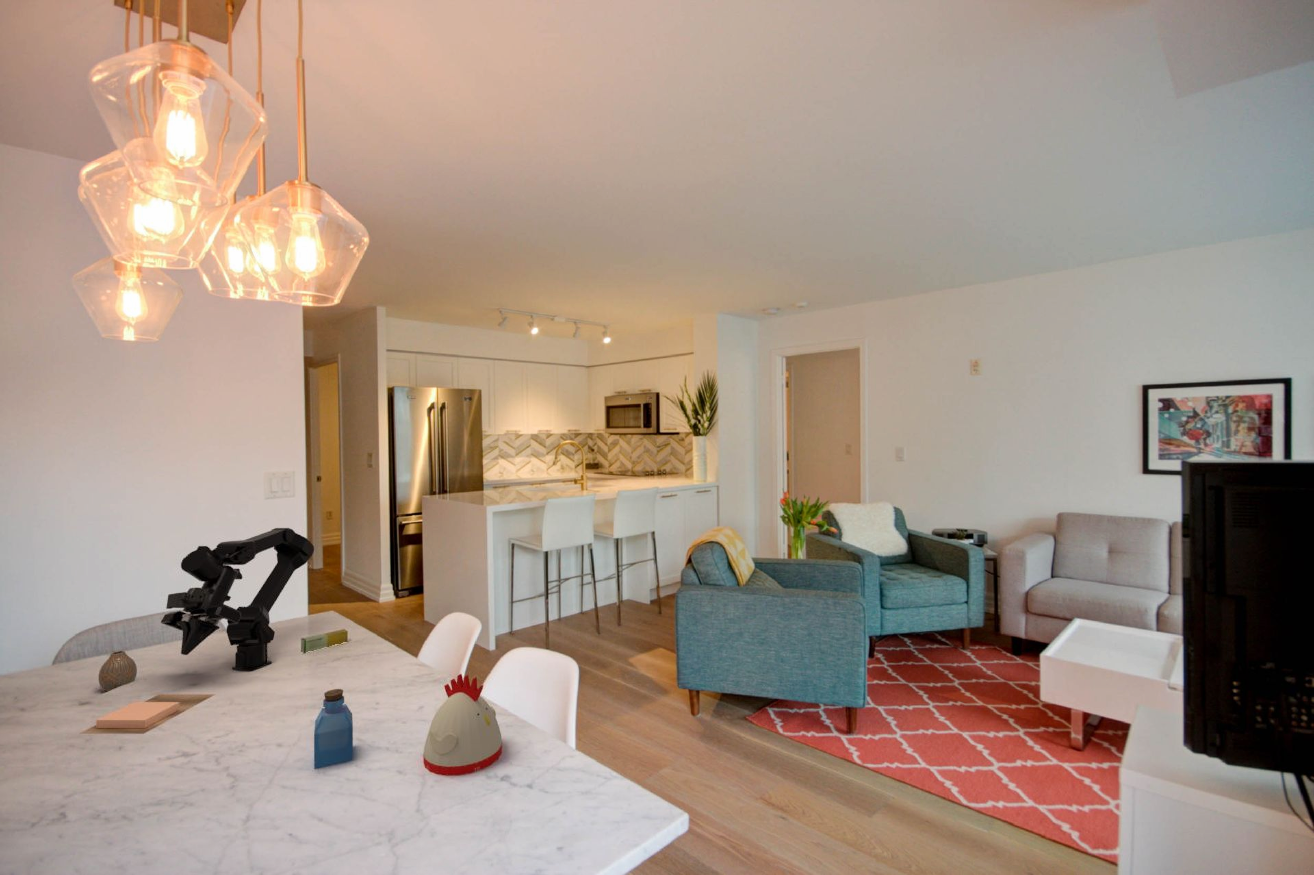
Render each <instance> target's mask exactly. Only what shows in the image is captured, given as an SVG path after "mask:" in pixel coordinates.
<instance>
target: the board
mask: <svg viewBox="0 0 1314 875" xmlns="http://www.w3.org/2000/svg"><path fill="white" fill-rule="evenodd" d="M215 695H216V694H214V693H213V694H211V693H210V694H209V693H208V694H207V693H206V694H205V693H202V694H201V693H200V694H199V693H197V694H196V693H194V694H193V693H192V694H190V693H185V694H183V693H181V694H180V693H177V694H175V693H173V694H172V693H170V694H169V693H167V694H165V693H161V694H160V693H159V694H157V695H154V696H153V697H151V698H149V699H146V700H144V702H179V710H178V711H176V712H174V713H172V714H171V715H169V716H167V717H165V718H163V719H161V720H159V721H158V722H156V723H154V724H152V725H150V726H148V727H146V728H96V724H95V725H93V726H91V727H89V728H88V729H86V730H83V731H81V732H80V734H105V735H106V734H107V735H108V734H112V735H113V734H116V735H117V734H119V735H121V734H122V735H123V734H124V735H125V734H131V735H132V734H133V735H134V734H135V735H136V734H138V735H140V734H141V735H142V734H147V733H148V732H149V731H151V730H153V729H155V728H157V727H159V726H160V725H162V724H165V723H166V722H168V721H169V720H172V719H173V718H175V717H178V716H179V715H181V714H183V713H184V712H186V711H188V710H189V709H191V708H194V707H195V706H197V705H199V704H201V703H202V702H204V701H206V700H207V699H210V698H212V697H213V696H215Z"/></svg>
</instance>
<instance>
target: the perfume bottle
mask: <svg viewBox="0 0 1314 875" xmlns="http://www.w3.org/2000/svg"><path fill="white" fill-rule="evenodd" d="M343 693H344V690H343V689H341V688H334V689H330V690H327V691H326V692H324V693H323V697H324V699H323V702H322V706H323V708H321V709H320V711H319V713H318V715H317V717H316V719H315V723H314V730H313V731H314V732H313V733H314V734H313V745H314V746H313V756H314V758H313V760H314V761H313V769H314V770H317V769H321V768H326V767H330V766H335V765H340V764H345V763H349V762H354V761H353V760H354V738H353V736H354V735H353V734H354V731H353V730H354V729H353V728H354V727H353V726H354V725H353V724H354V723H353V721H354V720H353V712H352V711H351V710H350V708H349V707H348V705H347V704H346V703H345V696H344V695H343ZM344 703H345V704H344Z"/></svg>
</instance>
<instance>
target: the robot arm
mask: <svg viewBox="0 0 1314 875" xmlns="http://www.w3.org/2000/svg"><path fill="white" fill-rule="evenodd" d="M272 548H273V549H274V551H275V552H276V561H277V563H276V564H275V565H274V567H273V569H272V570H271V572H270V573H269V575H268V577H267V578H266V580H265V581H264V583H263V584H262V586H261V587H260V589H259V591H258V592H257V594H256V595H255V596H254V598H253V599H252V601H251V603H250V604H248V605H247V606H238V607H237V608H234V607H232V606H230V605H227V604H225V602H229V601H230V600H231V598H232V597H231V596H230V595H229V593H230V591H231V589H232V587H233V585H234V582H235V580H242V579H243V574H242V573H241V569H240V568H233V567H232V566H243V565H247V564H248V563H250V562H251V561H253V560H255V558H256V555H258V554H259V553H261V552H264V551H267V550H269V549H272ZM314 551H315V546H314V545H313V543H312V542H311V541H310V540H309V539H308V538H307V537H305V536H302V535H301V534H299V533H297V532H295V530H293V529H292V528H289V527H275V528H273V529H271V530H269V531H265V532H263V533H259V534H258V535H255V536H251V537H250V538H246V539H241V540H239V539H238V540H229V541H222V542H219V543H218V544H217V545H216V547H215V548H213V549H211V548H210V547H209V546H208V545H198V546H197V547H196V549H195V550H194V551H191V552H189V554H187V555H186V556H185V557H183V558H182V559H181V560H182V561H181V562H180V568H181V570H182V571H183V572H185V573H187V574H188V575H190V576H191V577H193V578H194V579H196V580H198V581H200V582H203V583H202V586H201V587H189V589H188V590H187V591H184V592H176V593H170V594H168V595H167V600H166V607H165V608H166V609H169V610H170V609H182V610H176V611H170V612H168V613H165V614H164V616H163V617H162V619H161V621H160V624H163V625H165V626H167V627H169V628H173V629H176V630H178V631H182V641H181V649H180V654H181V655H183V656H188V655H189V654H190V653H191V652H193V651H194V650H195V649H196V648H197V647H198V646H199V645H200V644H201V643H203V641H204V640H206V639H207V638H209V636H211V635H212V634H214V633H215V631H217V630H219V629H220V628H221V627H220V626H218V624H219V622H220V621H222V620H223V619H224V620H226V622H227V627H226V630H225V631H226V634H227V638H228V641H229V644H230V646H236V652H235V659H234V660H235V662H234V663H235V665H233V666H232V667H231V668H232V670H237V671H246V672H252V671H255V670H257V669H260V668H262V667H265V666H269V665H270V664H272V663H273V661H272V660H268V644H270V643H272V641H273V640H274V638H275V634H276V632H275V631H274V630H273V628H272V627H270V623H271V621H270V611H271V609H272V608H273V606H274V604H275V603H276V602H277V600H278V598H279V596H280V595H281V593H282V592H283V590H284V588H286V587H285V586H286V585H287V584H288V582H289V581H290V579H291V577H292V575H293V574H294V573H295V571H296V570H298V569H299V568H301V567H302V566H304V565H306V564H307V562H308V561H309V560H310V558H312V556H313V554H314Z"/></svg>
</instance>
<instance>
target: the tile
mask: <svg viewBox="0 0 1314 875" xmlns="http://www.w3.org/2000/svg"><path fill="white" fill-rule="evenodd" d="M178 710H179V702H145V701H133V702H131V703H130V704H127V705H124V706H123V707H120V708H118V709H117V710H116V709H115V711H112V712H110V713H108V714H106V715H104V716H102V717H99V718H98V719H96V722H95V723H96V724H95V725H96V728H146V727H148V726H150V725H152V724H154V723H156V722H158V721H159V720H161V719H163V718H165V717H167V716H169V715H171V714H172V713H174V712H176V711H178Z"/></svg>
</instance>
